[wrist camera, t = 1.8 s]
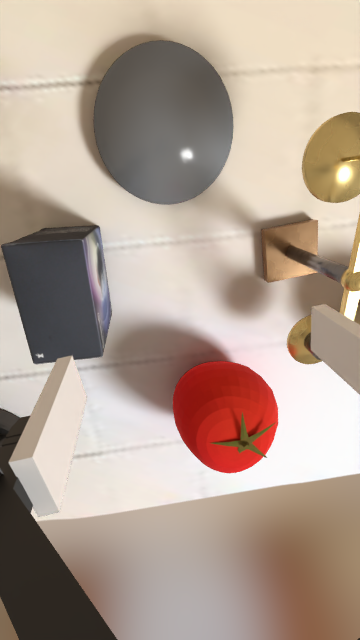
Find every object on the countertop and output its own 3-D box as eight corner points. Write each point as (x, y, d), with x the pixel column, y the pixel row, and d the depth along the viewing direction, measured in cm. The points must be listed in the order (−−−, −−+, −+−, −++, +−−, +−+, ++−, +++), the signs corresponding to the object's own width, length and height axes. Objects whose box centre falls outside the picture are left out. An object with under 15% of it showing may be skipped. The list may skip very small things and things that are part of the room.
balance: (268, 342, 40) (329, 418, 27) (255, 141, 31) (342, 104, 17) (311, 333, 41) (394, 404, 27) (312, 130, 31) (442, 86, 18)
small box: (116, 315, 36) (106, 360, 27) (60, 320, 36) (30, 367, 26) (102, 223, 32) (85, 238, 23) (39, 227, 32) (-6, 244, 22)
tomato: (175, 430, 45) (185, 504, 34) (165, 349, 39) (173, 408, 29) (256, 418, 45) (290, 486, 35) (257, 336, 40) (298, 389, 29)
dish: (115, 214, 32) (114, 215, 31) (77, 60, 27) (74, 54, 25) (235, 191, 32) (239, 191, 31) (221, 35, 27) (225, 28, 26)
